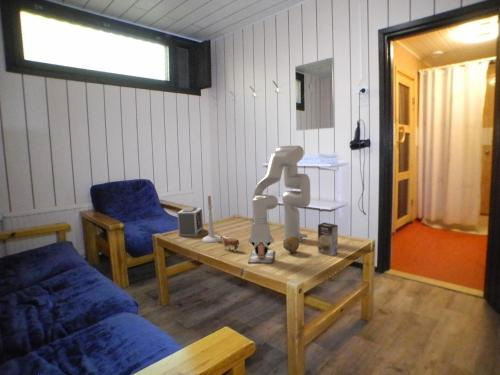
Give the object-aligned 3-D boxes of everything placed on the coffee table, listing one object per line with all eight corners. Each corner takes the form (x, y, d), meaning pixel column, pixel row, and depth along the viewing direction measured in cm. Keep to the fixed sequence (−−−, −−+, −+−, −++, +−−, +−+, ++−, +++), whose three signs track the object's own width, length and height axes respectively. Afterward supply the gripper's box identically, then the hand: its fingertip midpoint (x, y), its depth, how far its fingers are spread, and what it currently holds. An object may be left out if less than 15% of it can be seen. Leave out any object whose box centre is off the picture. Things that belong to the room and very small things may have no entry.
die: (263, 246, 184) (263, 238, 183) (262, 249, 179) (262, 241, 178) (255, 247, 185) (254, 239, 184) (254, 249, 180) (254, 241, 179)
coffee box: (317, 252, 170) (317, 224, 168) (323, 249, 175) (323, 222, 173) (332, 256, 164) (331, 227, 162) (338, 253, 168) (338, 224, 166)
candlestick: (199, 239, 206) (196, 195, 202) (217, 235, 211) (214, 192, 207) (205, 244, 194) (202, 197, 190) (224, 240, 200) (222, 195, 196)
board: (274, 251, 175) (274, 250, 175) (273, 263, 157) (273, 261, 157) (252, 251, 176) (251, 250, 176) (248, 263, 159) (248, 261, 159)
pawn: (266, 255, 166) (265, 241, 165) (265, 258, 162) (265, 243, 161) (257, 255, 167) (257, 241, 166) (256, 258, 162) (256, 243, 161)
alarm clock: (196, 236, 213) (194, 210, 210) (178, 236, 215) (176, 210, 212) (204, 229, 231) (202, 205, 228) (187, 229, 233) (185, 205, 230)
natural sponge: (291, 256, 165) (290, 239, 164) (280, 252, 173) (279, 235, 171) (302, 252, 171) (302, 235, 169) (291, 249, 178) (291, 232, 177)
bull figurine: (224, 246, 187) (223, 233, 186) (240, 250, 179) (240, 237, 177) (219, 248, 184) (218, 235, 183) (235, 253, 175) (235, 239, 174)
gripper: (243, 222, 159) (245, 256, 162) (275, 222, 157) (276, 256, 160) (245, 219, 167) (246, 251, 169) (276, 218, 165) (277, 251, 167)
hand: (261, 253), depth 164 cm, fingers open, 4 cm apart
